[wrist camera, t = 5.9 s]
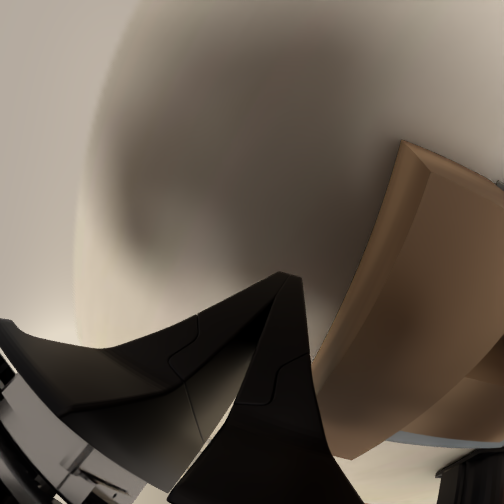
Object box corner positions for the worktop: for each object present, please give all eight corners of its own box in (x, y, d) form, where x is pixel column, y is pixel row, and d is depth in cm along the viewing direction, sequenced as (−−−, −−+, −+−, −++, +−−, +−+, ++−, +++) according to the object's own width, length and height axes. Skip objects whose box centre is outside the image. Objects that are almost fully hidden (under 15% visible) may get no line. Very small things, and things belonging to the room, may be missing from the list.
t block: (574, 240, 4) (625, 310, 1) (448, 404, 10) (443, 472, 7) (401, 139, 6) (431, 172, 3) (311, 365, 12) (281, 439, 9)
